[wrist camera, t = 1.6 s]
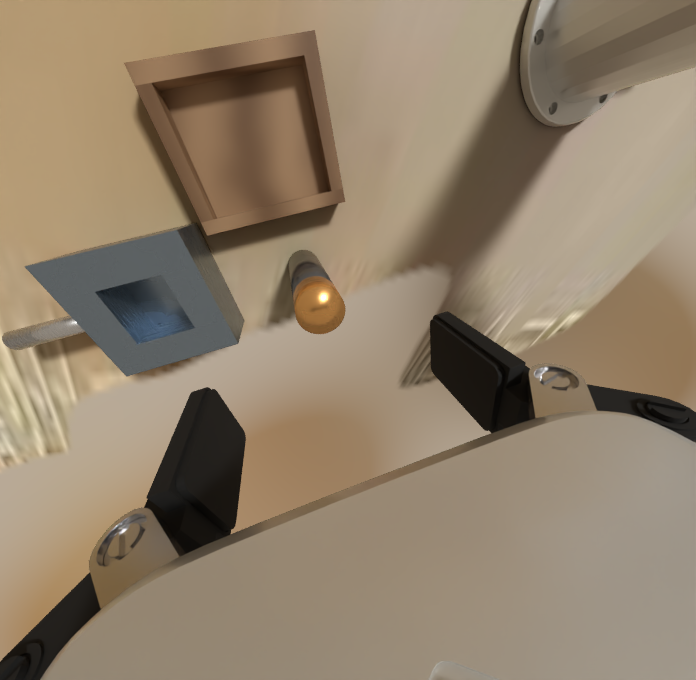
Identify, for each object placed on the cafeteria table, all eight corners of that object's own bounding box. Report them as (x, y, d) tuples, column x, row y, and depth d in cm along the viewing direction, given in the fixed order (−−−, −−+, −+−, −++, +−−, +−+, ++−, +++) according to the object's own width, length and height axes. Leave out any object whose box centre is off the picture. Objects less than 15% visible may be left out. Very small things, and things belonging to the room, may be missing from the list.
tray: (310, 47, 18) (314, 30, 16) (339, 200, 23) (345, 201, 22) (141, 78, 17) (124, 62, 15) (213, 232, 22) (207, 235, 20)
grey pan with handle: (196, 222, 22) (176, 229, 17) (244, 320, 27) (238, 343, 23) (-10, 272, 20) (-85, 292, 16) (86, 365, 25) (48, 399, 21)
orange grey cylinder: (314, 246, 25) (339, 281, 15) (322, 276, 27) (349, 326, 17) (283, 254, 25) (288, 296, 15) (293, 284, 26) (303, 339, 16)
